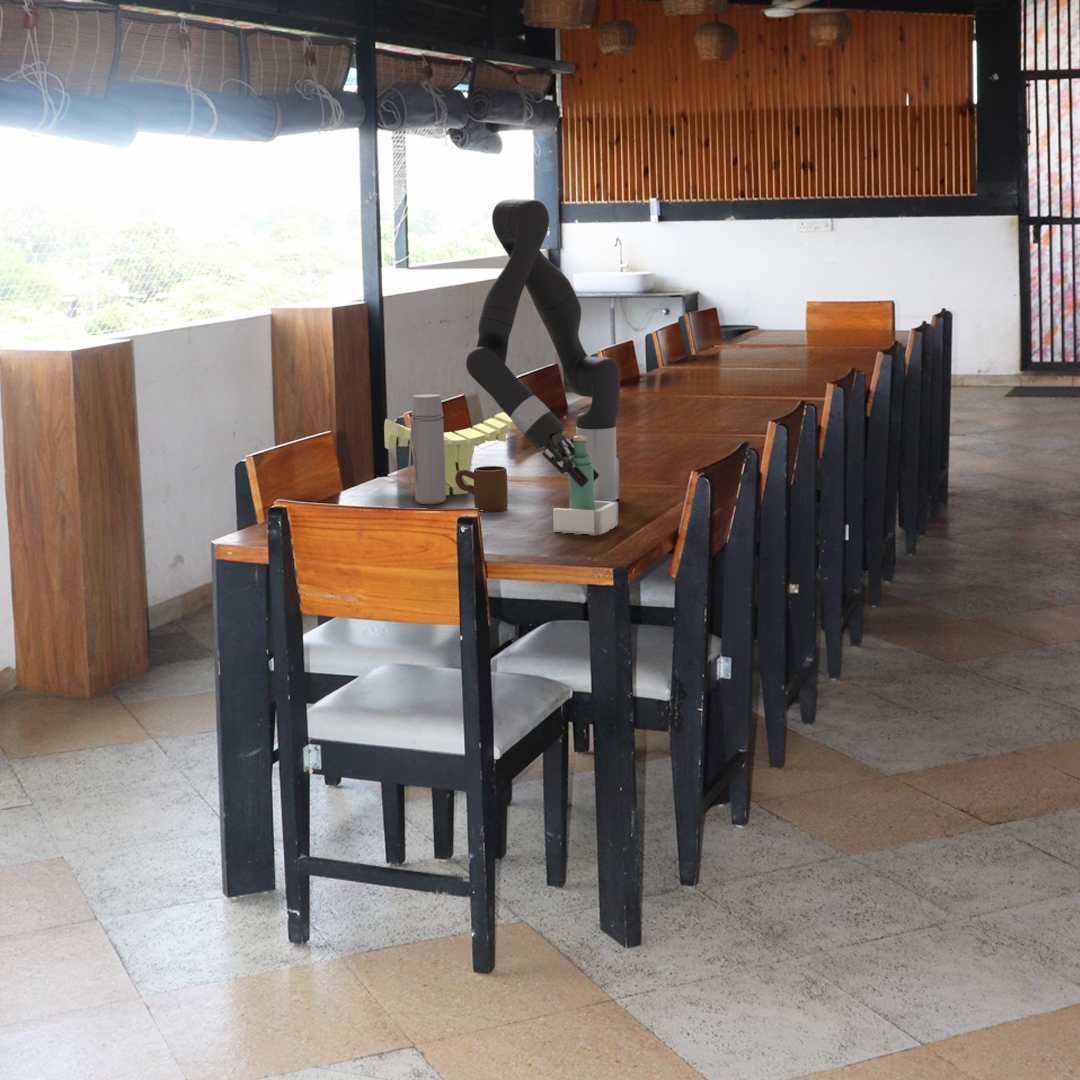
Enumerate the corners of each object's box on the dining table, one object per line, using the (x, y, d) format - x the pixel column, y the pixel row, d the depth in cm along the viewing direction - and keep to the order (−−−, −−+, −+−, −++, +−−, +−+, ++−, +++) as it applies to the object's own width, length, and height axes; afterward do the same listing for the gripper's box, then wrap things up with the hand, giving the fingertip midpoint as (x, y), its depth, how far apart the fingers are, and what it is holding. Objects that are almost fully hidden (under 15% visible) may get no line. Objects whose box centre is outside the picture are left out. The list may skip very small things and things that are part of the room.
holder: (553, 532, 282) (553, 509, 280) (573, 522, 292) (572, 499, 291) (599, 535, 278) (599, 511, 277) (618, 525, 288) (617, 501, 287)
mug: (452, 511, 306) (450, 470, 305) (460, 505, 314) (459, 465, 312) (503, 512, 304) (502, 471, 302) (511, 506, 311) (510, 466, 310)
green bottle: (581, 522, 288) (578, 434, 285) (600, 524, 285) (597, 435, 281) (565, 526, 285) (561, 437, 281) (584, 529, 281) (581, 438, 277)
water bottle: (436, 498, 324) (432, 393, 319) (452, 502, 317) (449, 395, 312) (402, 502, 319) (397, 396, 314) (417, 507, 312) (413, 398, 307)
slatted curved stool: (501, 479, 348) (500, 410, 344) (520, 489, 333) (518, 417, 330) (386, 488, 339) (383, 417, 336) (399, 498, 324) (396, 424, 321)
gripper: (535, 414, 276) (590, 474, 274) (561, 406, 289) (614, 464, 287) (511, 439, 279) (566, 499, 277) (538, 430, 292) (591, 487, 290)
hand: (590, 481), depth 282 cm, fingers open, 5 cm apart
